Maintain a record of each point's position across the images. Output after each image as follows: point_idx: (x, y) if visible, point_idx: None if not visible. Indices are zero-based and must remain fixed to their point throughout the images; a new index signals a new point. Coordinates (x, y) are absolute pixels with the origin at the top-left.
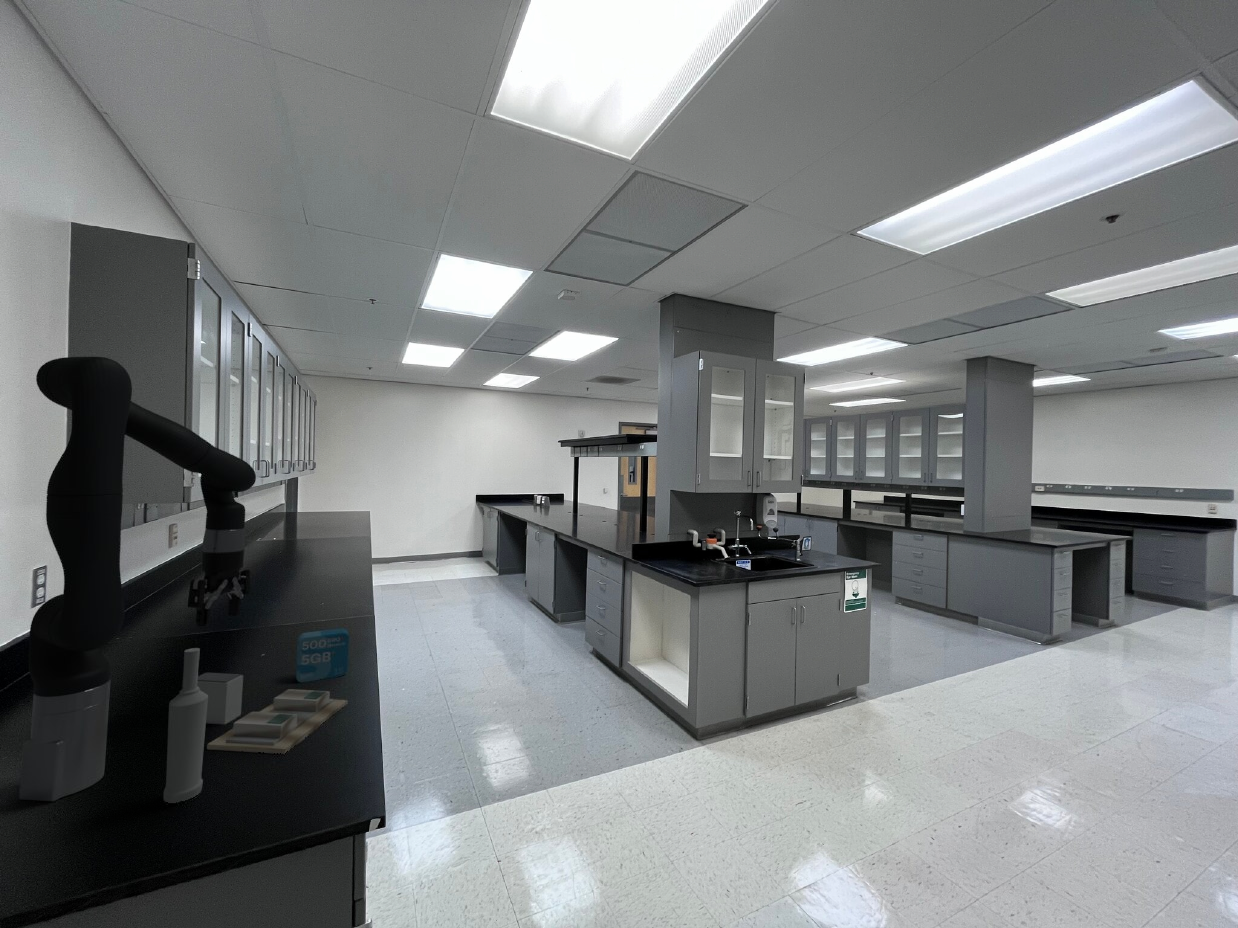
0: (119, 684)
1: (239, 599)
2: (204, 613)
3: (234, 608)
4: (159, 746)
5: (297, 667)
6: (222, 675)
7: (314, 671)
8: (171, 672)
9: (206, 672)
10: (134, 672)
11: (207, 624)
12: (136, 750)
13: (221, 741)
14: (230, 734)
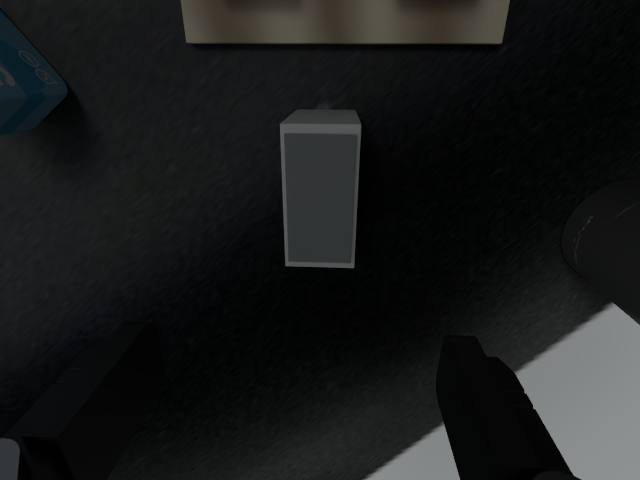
0: (215, 450)
1: (26, 444)
2: (529, 438)
3: (125, 385)
4: (470, 180)
5: (36, 96)
6: (304, 191)
7: (9, 45)
8: None
9: (289, 260)
10: (163, 465)
11: (462, 337)
12: (486, 214)
13: (486, 12)
14: (445, 18)
